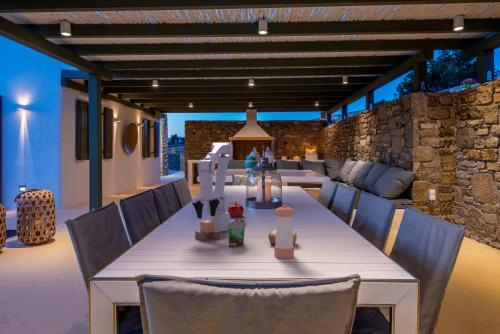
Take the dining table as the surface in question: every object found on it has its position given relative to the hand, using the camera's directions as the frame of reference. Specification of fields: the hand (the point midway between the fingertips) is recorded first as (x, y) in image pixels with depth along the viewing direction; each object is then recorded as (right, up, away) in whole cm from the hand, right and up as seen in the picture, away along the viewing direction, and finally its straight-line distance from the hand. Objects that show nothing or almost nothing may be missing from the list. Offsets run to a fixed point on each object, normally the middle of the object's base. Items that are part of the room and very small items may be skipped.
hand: (206, 217), depth 172 cm
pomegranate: (+11, -7, +56) cm, 58 cm away
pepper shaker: (+32, -11, -28) cm, 44 cm away
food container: (+15, -10, -12) cm, 22 cm away
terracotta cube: (+1, -6, 0) cm, 6 cm away
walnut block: (+1, -10, 0) cm, 10 cm away
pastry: (+33, -10, -9) cm, 36 cm away
